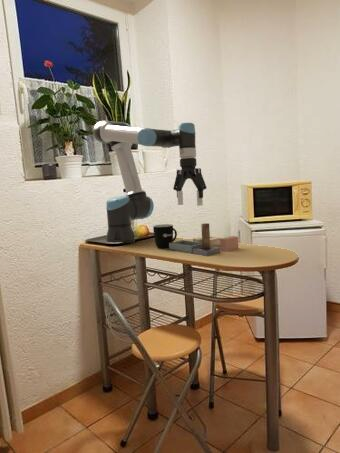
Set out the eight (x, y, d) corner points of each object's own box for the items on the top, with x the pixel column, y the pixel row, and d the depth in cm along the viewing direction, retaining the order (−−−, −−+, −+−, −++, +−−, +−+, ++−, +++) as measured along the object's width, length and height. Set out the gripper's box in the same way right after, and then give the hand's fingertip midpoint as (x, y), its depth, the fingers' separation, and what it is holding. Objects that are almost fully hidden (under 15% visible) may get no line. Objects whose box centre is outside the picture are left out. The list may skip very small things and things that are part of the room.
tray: (169, 249, 158) (168, 242, 158) (183, 246, 164) (182, 240, 163) (191, 253, 148) (191, 246, 147) (205, 250, 153) (205, 243, 152)
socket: (192, 253, 147) (192, 248, 147) (206, 250, 152) (205, 245, 152) (206, 255, 141) (206, 250, 141) (220, 252, 146) (220, 247, 146)
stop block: (220, 250, 150) (220, 238, 150) (233, 247, 155) (232, 236, 155) (226, 251, 148) (225, 239, 147) (238, 248, 153) (238, 236, 152)
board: (193, 247, 163) (192, 238, 162) (205, 244, 168) (205, 236, 167) (209, 249, 155) (209, 240, 155) (221, 246, 160) (221, 237, 160)
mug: (162, 250, 158) (161, 227, 157) (150, 247, 165) (149, 226, 164) (183, 246, 165) (182, 224, 164) (171, 243, 172) (170, 223, 171)
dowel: (200, 253, 147) (199, 224, 146) (206, 251, 149) (205, 223, 148) (206, 254, 145) (205, 224, 143) (212, 252, 147) (210, 223, 145)
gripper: (164, 160, 171) (166, 205, 173) (201, 155, 152) (203, 206, 155) (176, 160, 175) (178, 203, 178) (213, 155, 157) (215, 205, 160)
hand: (189, 205), depth 167 cm, fingers open, 12 cm apart
